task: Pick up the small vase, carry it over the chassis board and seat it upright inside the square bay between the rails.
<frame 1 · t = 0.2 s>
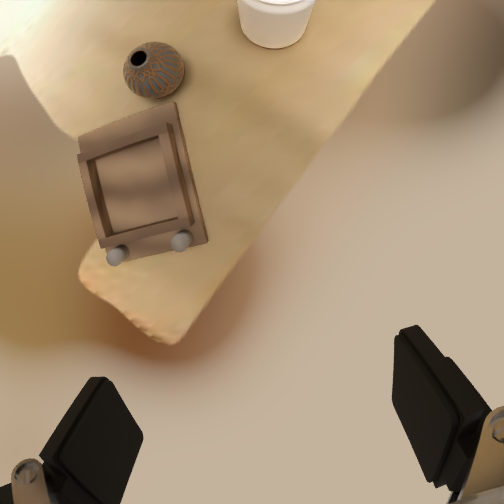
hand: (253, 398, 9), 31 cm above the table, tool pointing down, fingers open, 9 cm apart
vase: (163, 77, 34), on the table
chassis: (140, 185, 37), on the table
beverage can: (272, 24, 31), on the table
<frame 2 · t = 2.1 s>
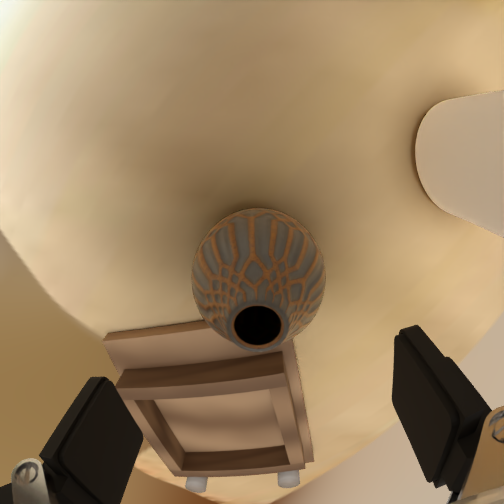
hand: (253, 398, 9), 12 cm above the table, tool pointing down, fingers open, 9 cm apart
vase: (258, 252, 20), on the table
chassis: (221, 408, 24), on the table
beverage can: (456, 156, 17), on the table
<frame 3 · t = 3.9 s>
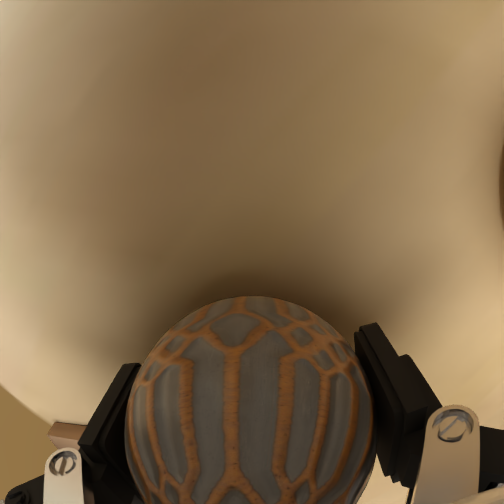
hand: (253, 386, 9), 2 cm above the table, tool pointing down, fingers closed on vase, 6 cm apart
vase: (254, 350, 12), on the table, touching gripper
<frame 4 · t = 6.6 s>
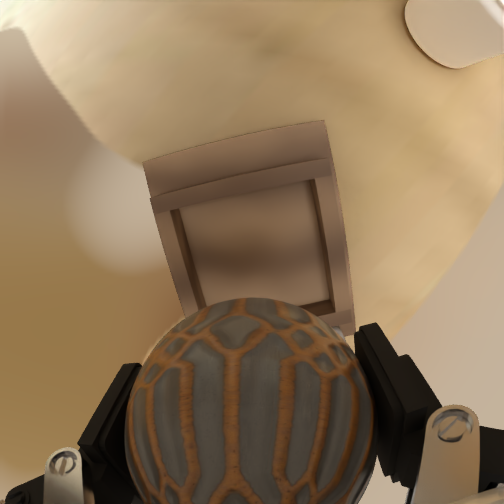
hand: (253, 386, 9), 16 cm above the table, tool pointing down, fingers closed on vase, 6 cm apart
vase: (254, 351, 12), point 14 cm above the table, touching gripper
chassis: (257, 250, 25), on the table
beverage can: (437, 32, 19), on the table
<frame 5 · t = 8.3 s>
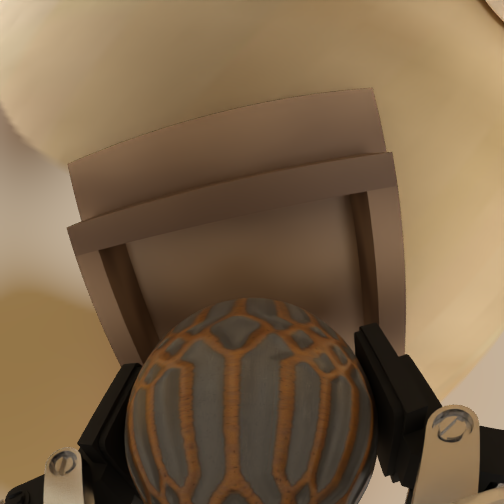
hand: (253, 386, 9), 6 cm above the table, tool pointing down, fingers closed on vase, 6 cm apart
vase: (254, 351, 12), point 4 cm above the table, touching gripper
chassis: (256, 304, 15), on the table
when the fingers open (5 cm above the table, at t = 9.6 s): vase drops 1 cm, resting on chassis.
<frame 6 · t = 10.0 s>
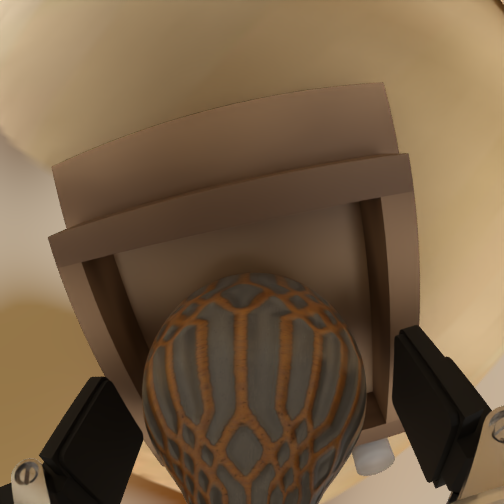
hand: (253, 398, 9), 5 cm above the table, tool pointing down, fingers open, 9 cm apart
vase: (255, 326, 13), point 1 cm above the table, touching chassis
chassis: (255, 318, 14), on the table
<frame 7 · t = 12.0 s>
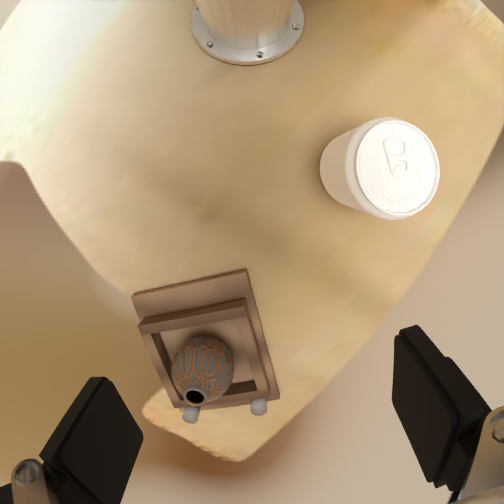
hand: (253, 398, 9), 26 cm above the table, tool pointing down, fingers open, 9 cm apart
vase: (208, 351, 36), point 1 cm above the table, touching chassis
chassis: (209, 348, 37), on the table
beverage can: (353, 169, 32), on the table
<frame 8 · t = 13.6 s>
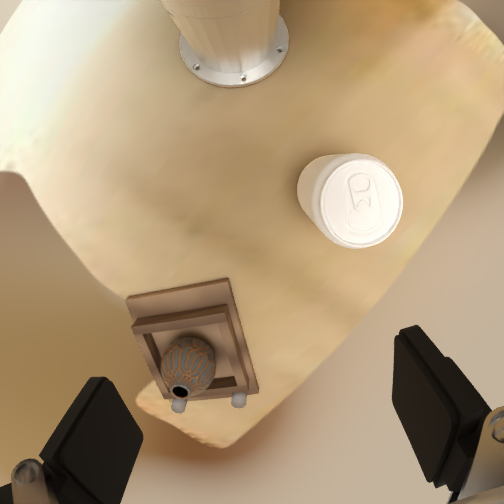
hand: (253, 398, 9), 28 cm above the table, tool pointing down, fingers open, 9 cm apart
vase: (194, 349, 40), point 1 cm above the table, touching chassis
chassis: (195, 346, 41), on the table
beverage can: (330, 189, 35), on the table
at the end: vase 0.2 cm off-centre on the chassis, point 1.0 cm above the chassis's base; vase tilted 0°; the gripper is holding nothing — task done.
